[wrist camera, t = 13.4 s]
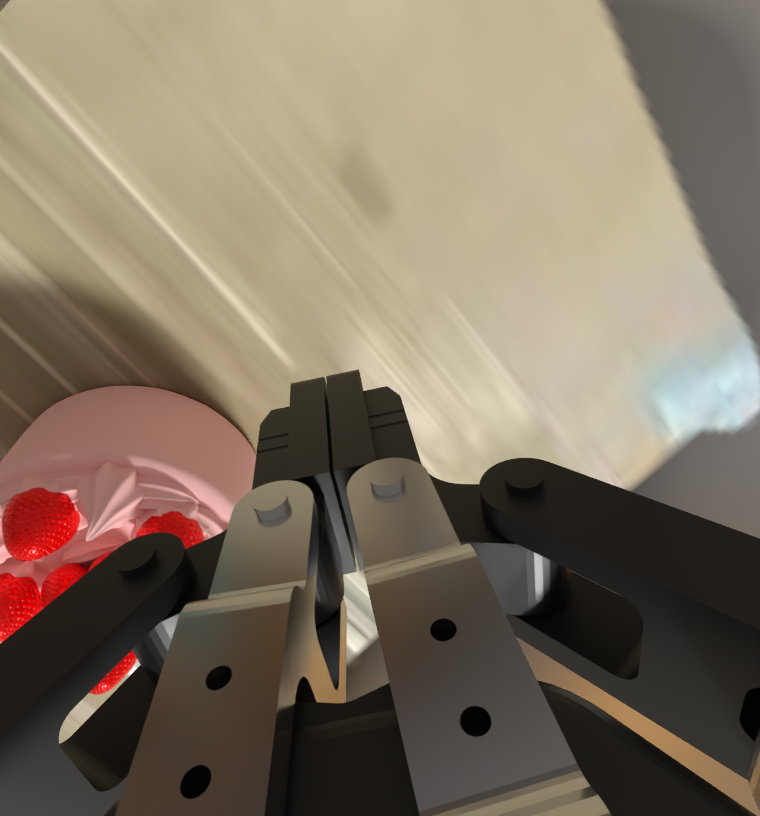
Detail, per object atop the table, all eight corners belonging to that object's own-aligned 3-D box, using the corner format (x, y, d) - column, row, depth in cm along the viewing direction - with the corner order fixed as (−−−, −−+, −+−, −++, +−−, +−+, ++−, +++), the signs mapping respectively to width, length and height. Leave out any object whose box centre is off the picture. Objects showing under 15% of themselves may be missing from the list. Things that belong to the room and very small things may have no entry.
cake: (314, 485, 49) (317, 618, 37) (160, 604, 54) (118, 757, 42) (125, 330, 41) (47, 436, 28) (-38, 488, 45) (-164, 638, 33)
